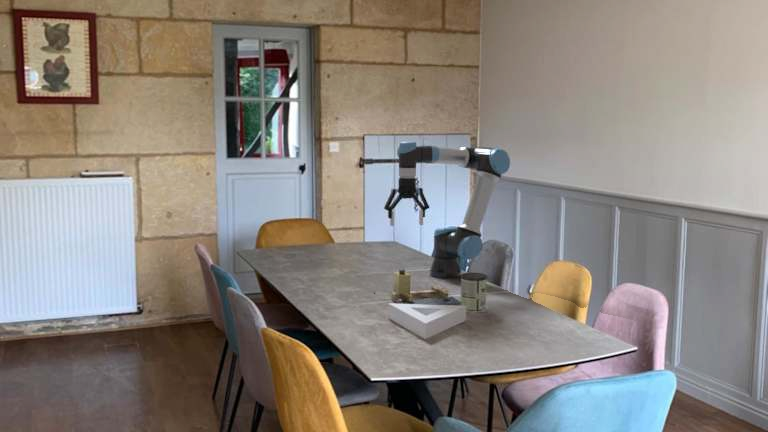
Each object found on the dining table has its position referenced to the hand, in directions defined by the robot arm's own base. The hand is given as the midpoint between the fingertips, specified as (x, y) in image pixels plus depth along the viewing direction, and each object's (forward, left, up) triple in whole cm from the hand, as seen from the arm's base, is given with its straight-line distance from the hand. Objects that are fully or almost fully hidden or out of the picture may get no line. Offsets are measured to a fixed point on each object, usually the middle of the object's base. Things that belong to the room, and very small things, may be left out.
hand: (406, 225), depth 345 cm
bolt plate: (0, +29, -29) cm, 41 cm away
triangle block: (+14, +53, -29) cm, 62 cm away
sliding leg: (+8, +22, -27) cm, 36 cm away
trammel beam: (0, +22, -29) cm, 36 cm away
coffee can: (-15, +40, -29) cm, 52 cm away
